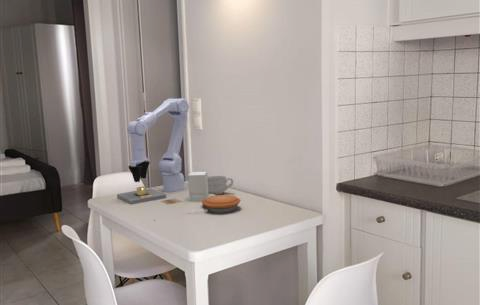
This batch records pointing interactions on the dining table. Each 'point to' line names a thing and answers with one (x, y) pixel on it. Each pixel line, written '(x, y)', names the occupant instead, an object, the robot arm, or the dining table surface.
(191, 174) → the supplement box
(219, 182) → the teacup
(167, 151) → the robot arm
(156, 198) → the hole board
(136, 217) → the dining table surface
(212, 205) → the pie
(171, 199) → the tan flat square
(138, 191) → the brass peg
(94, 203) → the dining table surface
